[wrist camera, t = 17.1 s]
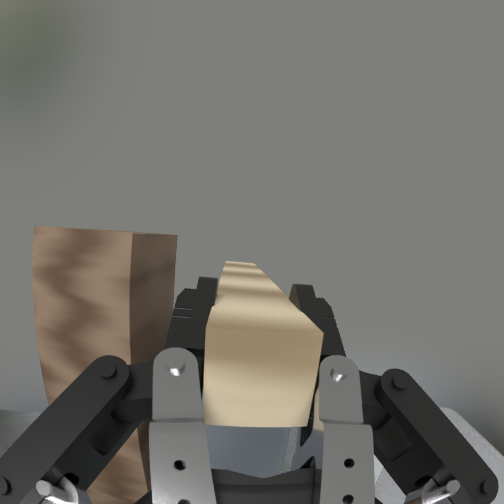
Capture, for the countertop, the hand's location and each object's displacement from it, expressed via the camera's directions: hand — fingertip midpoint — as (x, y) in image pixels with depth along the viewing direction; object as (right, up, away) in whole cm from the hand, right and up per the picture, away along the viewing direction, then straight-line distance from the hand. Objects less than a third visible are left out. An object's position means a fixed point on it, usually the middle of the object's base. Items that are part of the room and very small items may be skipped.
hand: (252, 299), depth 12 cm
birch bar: (-1, -3, +8) cm, 8 cm away
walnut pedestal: (-14, -28, +13) cm, 34 cm away
